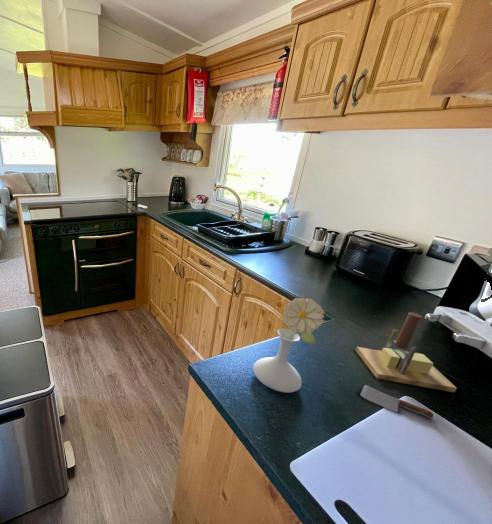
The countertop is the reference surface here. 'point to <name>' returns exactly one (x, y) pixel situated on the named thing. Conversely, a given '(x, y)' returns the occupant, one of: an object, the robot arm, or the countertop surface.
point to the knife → (405, 337)
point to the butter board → (403, 369)
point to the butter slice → (389, 357)
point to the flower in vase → (290, 345)
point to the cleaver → (392, 402)
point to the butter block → (420, 364)
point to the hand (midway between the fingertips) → (440, 326)
